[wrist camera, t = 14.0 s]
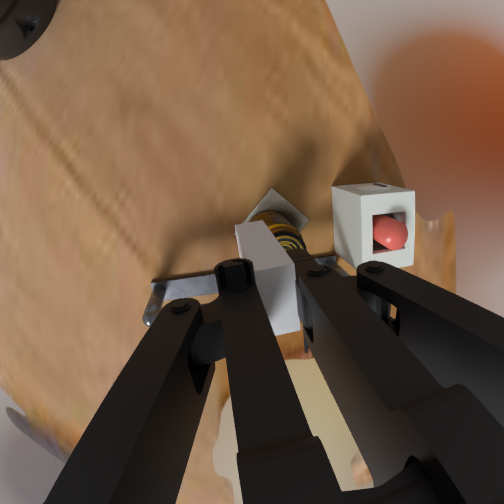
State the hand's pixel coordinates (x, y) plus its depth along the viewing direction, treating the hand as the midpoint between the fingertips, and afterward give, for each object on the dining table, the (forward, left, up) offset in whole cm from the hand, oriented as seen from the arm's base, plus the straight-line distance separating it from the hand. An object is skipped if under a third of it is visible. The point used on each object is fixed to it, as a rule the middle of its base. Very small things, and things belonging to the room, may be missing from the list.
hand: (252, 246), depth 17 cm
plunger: (+6, +19, -26) cm, 32 cm away
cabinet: (+6, +19, -28) cm, 35 cm away
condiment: (+6, +6, -29) cm, 30 cm away
